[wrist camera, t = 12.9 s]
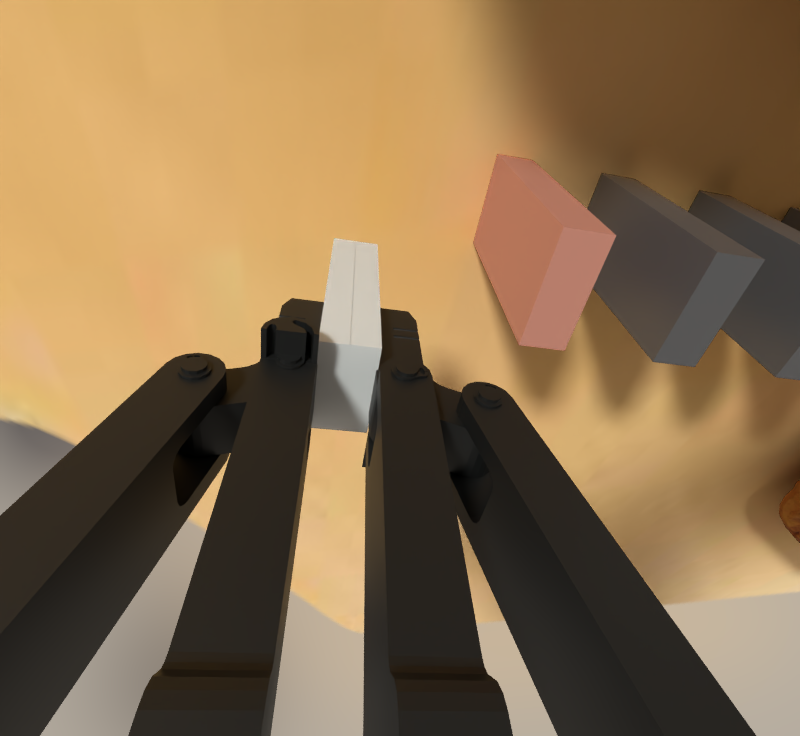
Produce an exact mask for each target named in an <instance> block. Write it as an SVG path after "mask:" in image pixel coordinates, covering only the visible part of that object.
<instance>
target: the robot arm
mask: <svg viewBox="0 0 800 736" xmlns="http://www.w3.org/2000/svg"><path fill="white" fill-rule="evenodd" d="M368 423H369V432H368V438H367V443H366V448H365V454H364V459H363V465H362V467H366V490H365V606H364V721H363V722H364V724H363V727H364V728H363V736H513V734H512V729H511V724H510V719H509V714H508V710H507V706H506V702H505V699H504V695H503V692H502V690H501V688H500V686H499V684H498V682H497V681H496V680H495V679H493V678H492V677H491V676H489V675H488V674H487V672H486V669H485V667H484V663H483V659H482V654H481V649H480V643H479V637H478V631H477V626H476V620H475V614H474V609H473V603H472V598H471V592H470V586H469V581H468V575H467V569H466V564H465V558H464V553H463V547H462V541H461V536H460V530H459V524H458V519H457V515H458V517H459V520H460V522H461V524H462V526H463V528H464V531H465V533H466V535H467V537H468V539H469V542H470V544H471V546H472V548H473V550H474V553H475V555H476V557H477V559H478V561H479V564H480V566H481V568H482V570H483V572H484V575H485V577H486V579H487V581H488V583H489V586H490V588H491V590H492V592H493V594H494V597H495V599H496V601H497V603H498V605H499V608H500V610H501V612H502V614H503V616H504V619H505V621H506V623H507V625H508V627H509V630H510V632H511V634H512V636H513V638H514V640H515V643H516V645H517V647H518V649H519V652H520V654H521V656H522V658H523V660H524V662H525V665H526V667H527V669H528V671H529V673H530V675H531V678H532V680H533V682H534V685H535V687H536V689H537V691H538V693H539V696H540V698H541V700H542V702H543V704H544V706H545V709H546V711H547V713H548V715H549V717H550V720H551V722H552V724H553V726H554V729H555V731H556V733H557V735H558V736H756V735H755V733H754V732H753V731H752V729H751V728H750V727H749V725H748V724H747V722H746V721H745V720H744V718H743V717H742V715H741V714H740V713H739V711H738V710H737V708H736V707H735V706H734V704H733V703H732V702H731V700H730V699H729V697H728V696H727V695H726V693H725V692H724V691H723V689H722V688H721V686H720V685H719V683H718V682H717V681H716V679H715V678H714V677H713V675H712V674H711V672H710V671H709V670H708V668H707V667H706V666H705V664H704V663H703V661H702V660H701V659H700V657H699V656H698V654H697V653H696V652H695V650H694V649H693V647H692V646H691V645H690V643H689V642H688V641H687V639H686V638H685V636H684V635H683V634H682V632H681V631H680V629H679V628H678V627H677V625H676V624H675V623H674V621H673V620H672V618H671V617H670V616H669V614H668V613H667V612H666V610H665V609H664V607H663V606H662V604H661V603H660V602H659V600H658V599H657V598H656V596H655V595H654V593H653V592H652V591H651V589H650V588H649V586H648V585H647V584H646V582H645V581H644V580H643V578H642V577H641V575H640V574H639V573H638V571H637V570H636V568H635V567H634V566H633V564H632V563H631V562H630V560H629V559H628V557H627V556H626V555H625V553H624V552H623V550H622V549H621V548H620V546H619V545H618V544H617V542H616V541H615V539H614V538H613V537H612V535H611V534H610V532H609V531H608V530H607V528H606V527H605V525H604V524H603V523H602V521H601V520H600V519H599V517H598V516H597V514H596V513H595V512H594V510H593V509H592V507H591V506H590V505H589V503H588V502H587V501H586V499H585V498H584V496H583V495H582V494H581V492H580V491H579V489H578V488H577V487H576V485H575V484H574V483H573V481H572V480H571V478H570V477H569V476H568V474H567V473H566V471H565V470H564V469H563V467H562V466H561V465H560V463H559V462H558V460H557V459H556V458H555V456H554V455H553V453H552V452H551V451H550V449H549V448H548V447H547V445H546V444H545V442H544V441H543V440H542V438H541V437H540V435H539V434H538V433H537V431H536V430H535V428H534V427H533V426H532V424H531V423H530V422H529V420H528V419H527V417H526V416H525V415H524V413H523V412H522V410H521V409H520V408H519V406H518V405H517V404H516V402H515V401H514V399H513V398H512V397H511V396H510V395H509V394H508V393H507V392H506V391H505V390H503V389H502V388H500V387H498V386H496V385H493V384H490V383H486V382H474V383H469V384H467V385H466V386H465V387H463V390H462V393H461V392H458V391H454V390H451V389H448V388H446V387H443V386H441V385H439V384H437V383H436V382H434V381H433V378H432V375H431V373H430V370H429V369H428V368H427V367H426V366H424V365H423V360H422V354H421V348H420V342H419V335H418V329H417V323H416V320H415V319H414V318H413V317H412V316H411V314H410V313H409V312H406V311H398V310H390V309H383V308H380V291H379V268H378V245H377V244H371V243H364V242H358V241H351V240H344V239H337V238H334V242H333V249H332V255H331V262H330V268H329V274H328V281H327V287H326V293H325V300H324V302H318V301H310V300H302V299H294V298H292V299H290V300H289V301H288V302H286V303H285V304H284V305H282V308H281V311H280V315H279V318H275V319H272V320H270V321H268V322H266V323H265V324H264V325H263V326H262V328H261V359H260V362H258V363H256V364H254V365H251V366H248V367H242V368H233V369H226V368H225V364H224V363H223V362H222V361H221V360H220V359H219V358H217V357H214V356H212V355H209V354H202V353H193V354H185V355H181V356H178V357H175V358H173V359H172V360H170V361H169V362H167V363H166V364H165V365H164V366H162V367H161V368H160V369H159V370H158V371H157V372H156V373H155V374H154V375H153V376H152V377H151V378H149V379H148V380H147V381H146V382H145V383H144V384H143V385H142V386H141V387H140V388H139V389H137V390H136V391H135V392H134V393H133V394H132V395H131V396H130V397H129V398H128V399H127V400H126V401H124V402H123V403H122V404H121V405H120V406H119V407H118V408H117V409H116V410H115V411H114V412H112V413H111V414H110V415H109V416H108V417H107V418H106V419H105V420H104V421H103V422H102V423H101V424H99V425H98V426H97V427H96V428H95V429H94V430H93V431H92V432H91V433H90V434H89V435H87V436H86V437H85V438H84V439H83V440H82V441H81V442H80V443H79V444H78V445H77V446H75V447H74V448H73V449H72V450H71V451H70V452H69V453H68V454H67V455H66V456H65V457H64V458H63V459H61V460H60V461H59V462H58V463H57V464H56V465H55V466H54V467H53V468H52V469H50V470H49V471H48V472H47V473H46V474H45V475H44V476H43V477H42V478H41V479H40V480H39V481H38V482H36V483H35V484H34V485H33V486H32V487H31V488H30V489H29V490H28V491H27V492H26V493H25V494H23V495H22V496H21V497H20V498H19V499H18V500H17V501H16V502H15V503H14V504H12V506H10V507H9V508H8V509H7V510H6V511H5V512H4V513H3V514H2V515H1V516H0V736H40V735H41V733H42V732H43V730H44V729H45V727H46V726H47V724H48V723H49V721H50V720H51V718H52V717H53V715H54V714H55V712H56V711H57V709H58V708H59V706H60V705H61V704H62V702H63V701H64V699H65V698H66V696H67V695H68V693H69V692H70V690H71V689H72V688H73V686H74V685H75V683H76V682H77V680H78V679H79V677H80V676H81V674H82V673H83V671H84V670H85V668H86V667H87V665H88V664H89V662H90V661H91V660H92V658H93V657H94V655H95V654H96V652H97V650H98V649H99V648H100V646H101V645H102V643H103V642H104V640H105V639H106V637H107V636H108V634H109V633H110V632H111V630H112V629H113V627H114V626H115V624H116V623H117V621H118V620H119V618H120V617H121V615H122V614H123V612H124V611H125V610H126V608H127V607H128V605H129V604H130V602H131V601H132V599H133V598H134V596H135V594H136V593H137V592H138V590H139V589H140V587H141V586H142V584H143V583H144V582H145V580H146V578H147V577H148V576H149V574H150V573H151V571H152V570H153V568H154V567H155V565H156V564H157V562H158V561H159V559H160V558H161V557H162V555H163V553H164V552H165V551H166V549H167V548H168V546H169V544H170V543H171V542H172V540H173V539H174V537H175V536H176V534H177V533H178V531H179V530H180V529H181V527H182V526H183V524H184V523H185V521H186V520H187V518H188V517H189V515H190V514H191V512H192V511H193V509H194V508H195V506H196V505H197V504H198V502H199V501H200V499H201V498H202V496H203V495H204V493H205V492H206V490H207V489H208V487H209V486H210V484H211V483H212V481H213V480H214V478H215V477H216V476H217V474H218V473H219V471H220V470H221V468H222V467H223V465H224V464H225V462H226V461H227V459H228V456H229V453H231V454H230V457H229V461H228V464H227V467H226V470H225V473H224V476H223V480H222V483H221V486H220V489H219V492H218V495H217V499H216V502H215V505H214V508H213V511H212V515H211V518H210V521H209V524H208V527H207V530H206V534H205V538H204V540H203V543H202V546H201V550H200V553H199V556H198V559H197V562H196V565H195V569H194V572H193V575H192V578H191V581H190V584H189V588H188V591H187V594H186V597H185V600H184V604H183V607H182V610H181V613H180V616H179V619H178V623H177V626H176V629H175V632H174V635H173V638H172V642H171V645H170V648H169V651H168V654H167V657H166V659H165V662H164V664H163V666H162V668H161V669H160V670H159V671H158V672H157V673H156V674H154V675H153V676H152V677H151V679H150V681H149V683H148V685H147V686H146V688H145V690H144V693H143V696H142V698H141V701H140V703H139V706H138V709H137V712H136V714H135V718H134V720H133V723H132V726H131V730H130V732H129V736H270V735H271V728H272V719H273V712H274V705H275V698H276V690H277V683H278V676H279V668H280V661H281V653H282V646H283V638H284V631H285V622H286V616H287V609H288V601H289V594H290V586H291V579H292V571H293V564H294V557H295V549H296V542H297V534H298V527H299V519H300V512H301V505H302V497H303V490H304V482H305V475H306V467H307V460H308V452H309V445H310V435H311V428H320V429H332V430H343V431H354V432H365V433H367V429H368Z"/></svg>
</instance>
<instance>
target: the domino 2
mask: <svg viewBox="0 0 800 736" xmlns="http://www.w3.org/2000/svg"><path fill="white" fill-rule="evenodd" d="M588 210H589V211H590V212H591V213H592V214H593V215H594V216H595V217H596V218H598V219H599V220H600V221H601V222H602V223H603V224H604V225H605V226H606V227H608V228H609V229H610V230H611V231H612V232H613V233H614V234H615V235H616V238H615V240H614V242H613V244H612V246H611V249H610V251H609V253H608V255H607V258H606V260H605V262H604V264H603V266H602V269H601V271H600V273H599V275H598V278H597V280H596V282H595V284H594V286H593V289H594V290H595V291H596V293H597V294H598V295H599V296H600V297H601V299H602V300H603V301H604V302H605V304H606V305H607V306H608V307H609V309H610V310H611V311H612V312H613V313H614V315H615V316H616V317H617V318H618V320H619V321H620V322H621V323H622V325H623V326H624V327H625V328H626V329H627V331H628V332H629V333H630V334H631V336H632V337H633V338H634V339H635V340H636V342H637V343H638V344H639V345H640V347H641V348H642V349H643V350H644V352H645V353H646V354H647V355H648V356H649V358H650V359H651V360H652V361H653V362H659V363H667V364H675V365H683V366H691V367H695V366H696V364H697V363H698V361H699V360H700V358H701V357H702V355H703V354H704V352H705V351H706V349H707V348H708V346H709V345H710V343H711V342H712V340H713V339H714V337H715V336H716V334H717V332H718V331H719V329H720V328H721V326H722V325H723V323H724V322H725V320H726V319H727V317H728V316H729V314H730V313H731V311H732V310H733V308H734V307H735V305H736V304H737V302H738V301H739V299H740V297H741V296H742V294H743V293H744V291H745V290H746V288H747V287H748V285H749V284H750V282H751V281H752V279H753V278H754V276H755V275H756V273H757V272H758V270H759V269H760V267H761V265H762V264H763V262H764V261H765V259H763V258H762V257H760V256H758V255H757V254H755V253H753V252H752V251H750V250H749V249H747V248H745V247H744V246H742V245H741V244H739V243H737V242H736V241H734V240H733V239H731V238H729V237H728V236H726V235H724V234H723V233H721V232H720V231H718V230H716V229H715V228H713V227H712V226H710V225H708V224H707V223H705V222H703V221H702V220H700V219H699V218H697V217H695V216H694V215H692V214H691V213H689V212H687V211H686V210H684V209H682V208H681V207H679V206H678V205H676V204H674V203H673V202H671V201H670V200H668V199H666V198H665V197H663V196H661V195H660V194H658V193H657V192H655V191H653V190H652V189H650V188H649V187H647V186H645V185H644V184H642V183H641V182H639V181H637V180H636V179H632V178H626V177H621V176H615V175H610V174H604V173H602V174H601V176H600V179H599V181H598V184H597V186H596V189H595V191H594V194H593V196H592V199H591V201H590V204H589V206H588Z"/></svg>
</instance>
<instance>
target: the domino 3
mask: <svg viewBox="0 0 800 736" xmlns="http://www.w3.org/2000/svg"><path fill="white" fill-rule="evenodd" d="M688 212H689V213H691V214H692V215H694V216H695V217H697V218H699V219H700V220H702V221H703V222H705V223H707V224H708V225H710V226H712V227H713V228H715V229H716V230H718V231H720V232H721V233H723V234H724V235H726V236H728V237H729V238H731V239H733V240H734V241H736V242H737V243H739V244H741V245H742V246H744V247H745V248H747V249H749V250H750V251H752V252H753V253H755V254H757V255H758V256H760V257H762V258H763V259H765V261H764V262H763V264H762V265H761V267H760V269H759V270H758V272H757V273H756V275H755V276H754V278H753V279H752V281H751V282H750V284H749V285H748V287H747V288H746V290H745V291H744V293H743V294H742V296H741V297H740V299H739V301H738V302H737V304H736V305H735V307H734V308H733V310H732V311H731V313H730V314H729V316H728V317H727V319H726V320H725V322H724V323H723V325H722V326H721V329H722V330H723V331H724V332H726V333H727V334H728V335H729V336H730V337H731V338H732V339H733V340H734V341H736V342H737V343H738V344H739V345H740V346H741V347H742V348H743V349H745V350H746V351H747V352H748V353H749V354H750V355H751V356H752V357H753V358H755V359H756V360H757V361H758V362H759V363H760V364H761V365H762V366H763V367H765V368H766V369H767V370H768V371H769V372H770V373H771V374H772V375H773V376H775V377H778V378H786V379H794V380H800V231H798V230H796V229H794V228H792V227H790V226H788V225H786V224H784V223H782V222H780V221H778V220H776V219H774V218H772V217H770V216H768V215H766V214H764V213H762V212H761V211H759V210H757V209H755V208H753V207H751V206H749V205H747V204H745V203H743V202H741V201H739V200H737V199H735V198H733V197H731V196H726V195H720V194H715V193H709V192H704V191H699V192H698V194H697V196H696V198H695V200H694V202H693V204H692V205H691V207H690V209H689V211H688Z"/></svg>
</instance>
